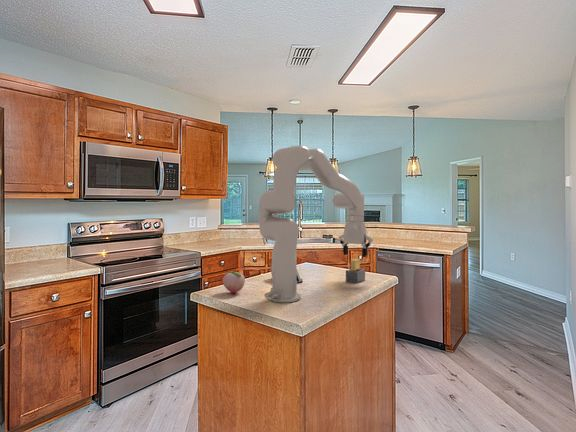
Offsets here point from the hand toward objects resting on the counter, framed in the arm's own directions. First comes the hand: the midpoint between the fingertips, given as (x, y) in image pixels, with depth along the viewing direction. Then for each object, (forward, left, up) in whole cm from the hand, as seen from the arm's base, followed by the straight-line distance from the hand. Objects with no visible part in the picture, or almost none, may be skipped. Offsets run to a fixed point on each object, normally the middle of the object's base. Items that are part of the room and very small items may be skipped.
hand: (354, 255), depth 160 cm
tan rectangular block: (0, 0, -12) cm, 12 cm away
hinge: (-20, +26, -12) cm, 35 cm away
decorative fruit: (-49, +29, -12) cm, 59 cm away
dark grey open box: (+1, 0, -12) cm, 12 cm away
